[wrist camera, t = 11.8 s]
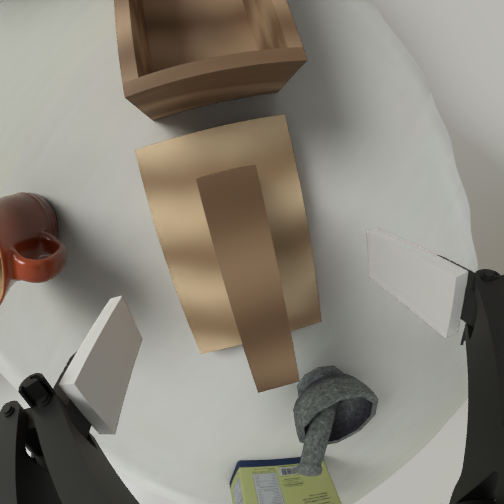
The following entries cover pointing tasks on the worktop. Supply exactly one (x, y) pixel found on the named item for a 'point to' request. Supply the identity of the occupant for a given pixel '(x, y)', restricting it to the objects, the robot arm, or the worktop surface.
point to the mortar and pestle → (329, 413)
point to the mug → (28, 241)
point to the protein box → (280, 484)
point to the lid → (236, 240)
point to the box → (203, 51)
